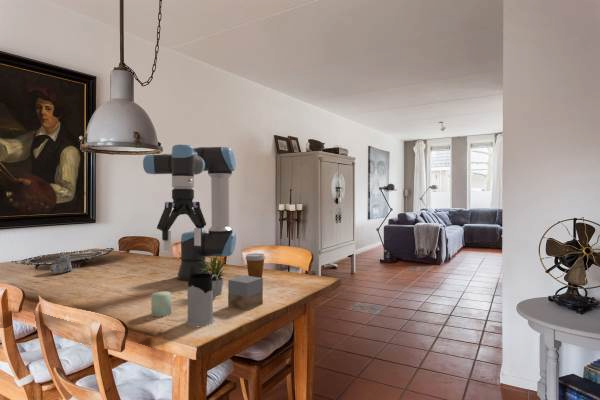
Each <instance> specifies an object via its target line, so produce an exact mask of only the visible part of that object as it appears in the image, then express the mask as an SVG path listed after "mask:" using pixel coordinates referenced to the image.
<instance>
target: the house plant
mask: <svg viewBox="0 0 600 400" xmlns="http://www.w3.org/2000/svg"><path fill="white" fill-rule="evenodd" d="M199 259H200V258H199ZM204 261H205V262H206V265H207V266H206V265H205V263H204V265H205V266H206V267H207V268H208V269H202V270H204V272H205V273H206V274H211V275H217V276H218V290H217V294H216V296H220V295H222V291H223V285H224V278H223V277H222V276H223V275H227V273H223V271H224V270H226V269H229V267H226V268H223V266H224V265H225V264H226V262H228V260H226V261H224V262H223V263H222V258H220V256H212V257H211V258H210V265H209V263H208V262H207V261H206V259H205V260H204ZM202 263H203V262H202ZM221 263H222V264H221ZM222 268H223V269H222ZM199 269H200V268H199ZM205 270H208V271H209V272H208V271H205ZM201 272H203V271H201ZM207 272H208V273H207ZM212 290H213V296H214V294H215V290H216V276H214V277H213V278H212Z"/></svg>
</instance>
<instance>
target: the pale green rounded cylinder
mask: <svg viewBox="0 0 600 400" xmlns="http://www.w3.org/2000/svg"><path fill="white" fill-rule="evenodd" d="M150 297H151V299H150V300H151V301H150V302H151V303H150V304H151V307H150V308H151V312H150V313H151V317H153V316H156V317H155V318H162V317H161V316H165V317H168V316H171V314H172V292H170V291H164V290H163V291H157V292H153V293H151V296H150ZM167 315H168V316H167ZM157 316H159V317H157Z"/></svg>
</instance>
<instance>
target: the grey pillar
mask: <svg viewBox="0 0 600 400" xmlns="http://www.w3.org/2000/svg"><path fill="white" fill-rule="evenodd" d="M214 276H216V290H215V294H214V296H213V290H212V278H213V277H214ZM217 290H218V276H217V275H211V274H206V273H201V274H193V275H189V276H188V281H187V321H186V324H187V325H188V326H187V325H186V326H187V327H190V326H193V327H192V328H196V327H195V326H204V327H207V326H206V325H208V326H210V325H209V324H211V325H212V323H213V322H215V319H214V308H213V307H214V305H213V303H214V300H215V299H216V294H217ZM213 324H214V323H213Z"/></svg>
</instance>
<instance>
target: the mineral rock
mask: <svg viewBox="0 0 600 400" xmlns="http://www.w3.org/2000/svg"><path fill="white" fill-rule="evenodd" d="M71 261H72V260H71V254H64V253H61V254H60V255H59V257H58V258H57V259H56V260H54V262H53V263H52V264H51V265H50V267H49V269H50V272H51V273H52V274H64V273H67V272H72V271H73V268H72V267H73V265H72V262H71Z"/></svg>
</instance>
